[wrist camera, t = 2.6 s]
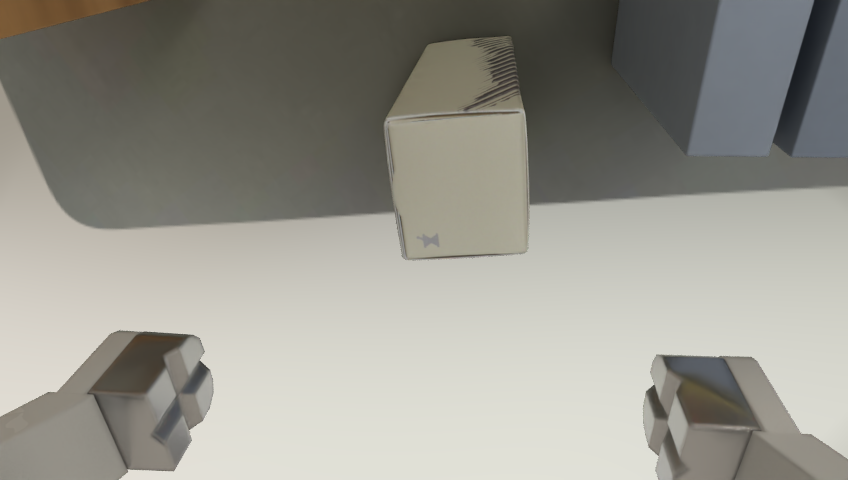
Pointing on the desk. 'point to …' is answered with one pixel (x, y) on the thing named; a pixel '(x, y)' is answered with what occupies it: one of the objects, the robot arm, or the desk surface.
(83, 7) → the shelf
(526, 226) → the box
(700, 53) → the grey books
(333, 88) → the desk surface
